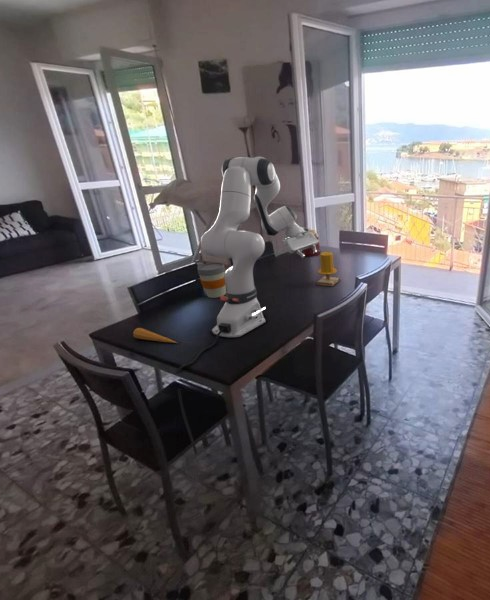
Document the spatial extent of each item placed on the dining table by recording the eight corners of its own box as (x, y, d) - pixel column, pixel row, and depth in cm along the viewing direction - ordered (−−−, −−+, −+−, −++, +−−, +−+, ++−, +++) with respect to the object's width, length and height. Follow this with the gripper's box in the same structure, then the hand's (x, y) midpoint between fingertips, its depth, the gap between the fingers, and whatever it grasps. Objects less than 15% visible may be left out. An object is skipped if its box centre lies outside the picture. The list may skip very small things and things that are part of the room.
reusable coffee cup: (220, 287, 188) (214, 260, 182) (234, 292, 181) (229, 264, 175) (198, 295, 179) (191, 267, 173) (212, 301, 172) (206, 272, 166)
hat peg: (332, 286, 187) (330, 258, 180) (317, 284, 190) (314, 256, 183) (339, 280, 195) (337, 253, 188) (324, 278, 197) (322, 251, 191)
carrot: (134, 340, 141) (128, 333, 138) (142, 331, 144) (136, 324, 140) (177, 351, 137) (172, 344, 133) (184, 341, 140) (179, 335, 136)
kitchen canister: (298, 256, 236) (295, 229, 229) (304, 250, 248) (302, 225, 240) (317, 256, 234) (315, 230, 227) (322, 251, 246) (320, 225, 238)
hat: (332, 275, 184) (331, 257, 179) (315, 273, 187) (313, 255, 183) (339, 269, 192) (339, 251, 188) (323, 267, 195) (321, 250, 191)
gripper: (283, 235, 183) (298, 256, 182) (310, 227, 199) (325, 247, 198) (278, 242, 188) (293, 263, 187) (305, 234, 203) (319, 253, 202)
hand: (310, 254), depth 192 cm, fingers open, 8 cm apart
